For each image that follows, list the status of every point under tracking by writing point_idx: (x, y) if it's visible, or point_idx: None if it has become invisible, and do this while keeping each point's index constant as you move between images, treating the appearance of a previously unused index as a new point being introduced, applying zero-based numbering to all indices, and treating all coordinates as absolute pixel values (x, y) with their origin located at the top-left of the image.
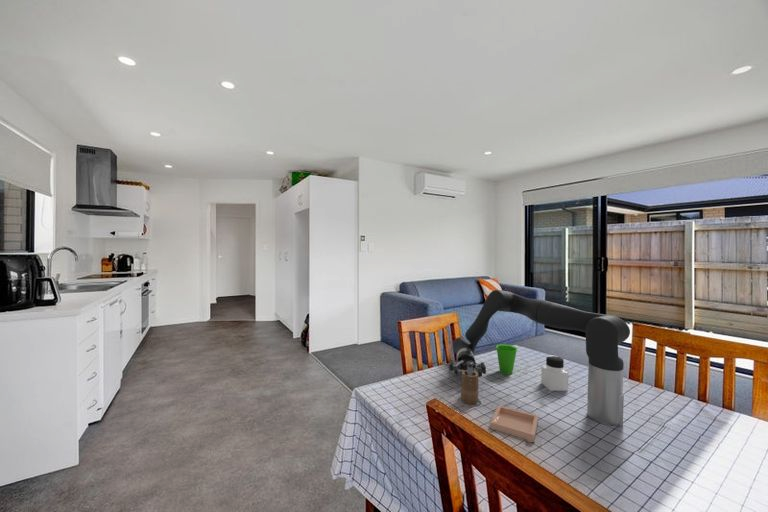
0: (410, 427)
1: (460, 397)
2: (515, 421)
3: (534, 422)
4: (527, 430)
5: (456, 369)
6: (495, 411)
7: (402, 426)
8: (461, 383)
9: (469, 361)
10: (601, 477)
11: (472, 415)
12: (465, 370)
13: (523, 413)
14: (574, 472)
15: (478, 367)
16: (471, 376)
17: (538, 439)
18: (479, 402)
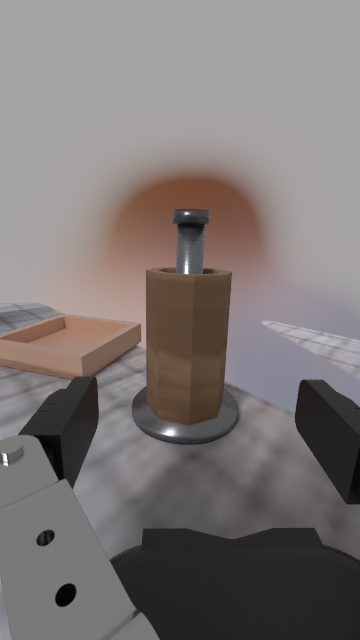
0: (308, 335)
1: (229, 418)
2: (61, 348)
3: (24, 327)
4: (53, 336)
5: (319, 381)
6: (109, 340)
7: (325, 335)
8: (227, 324)
9: (195, 209)
10: (13, 312)
11: None
12: (215, 275)
13: (21, 343)
14: (45, 313)
15: (35, 450)
16: None
17: None
18: (140, 400)
